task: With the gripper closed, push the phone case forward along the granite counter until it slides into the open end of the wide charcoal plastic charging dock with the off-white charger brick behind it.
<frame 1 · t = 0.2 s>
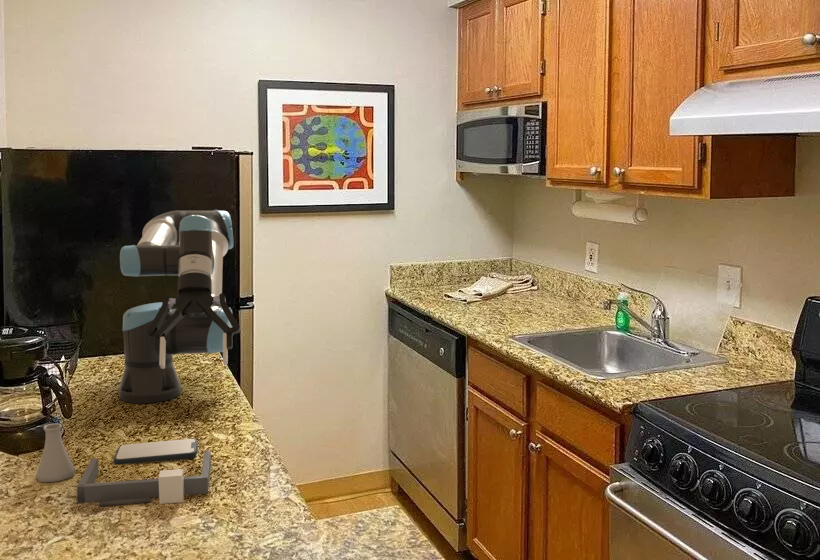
hand: (193, 364, 170), 15 cm above the countertop, tool tilted 35°, fingers open, 13 cm apart
dock: (148, 481, 145), on the countertop
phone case: (157, 456, 159), on the countertop
flask: (56, 476, 148), on the countertop
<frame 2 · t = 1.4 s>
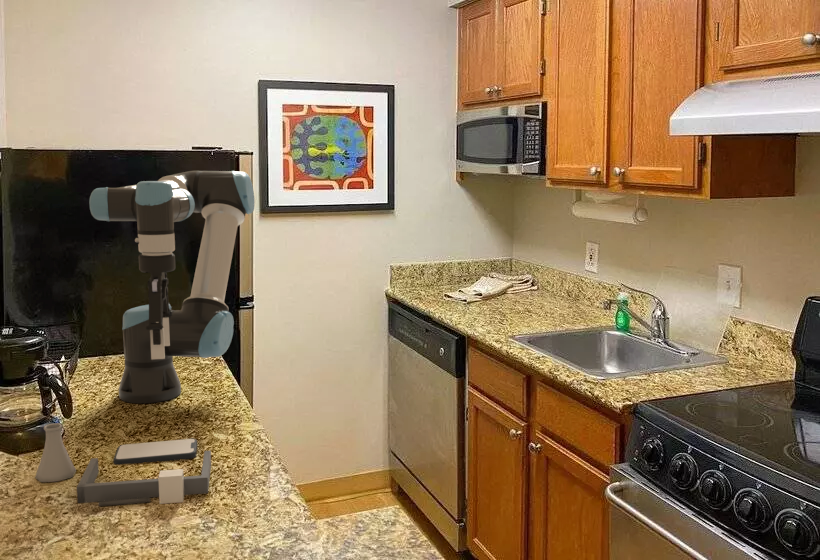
hand: (160, 352, 170), 18 cm above the countertop, tool pointing down, fingers open, 11 cm apart
nothing on the countertop moved.
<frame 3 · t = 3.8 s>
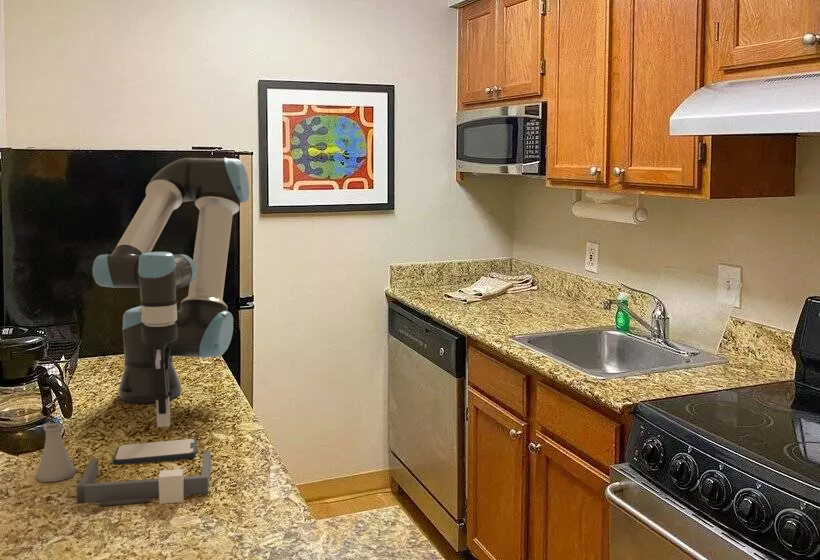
hand: (163, 425, 172), 1 cm above the countertop, tool pointing down, fingers closed
nothing on the countertop moved.
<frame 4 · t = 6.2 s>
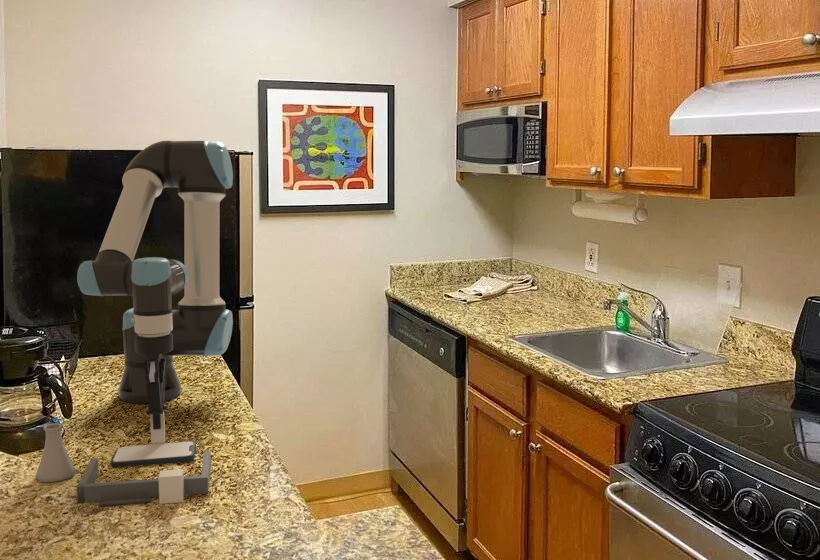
hand: (158, 441, 162), 1 cm above the countertop, tool pointing down, fingers closed
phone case: (154, 459, 158), on the countertop, touching gripper
everything else where it was.
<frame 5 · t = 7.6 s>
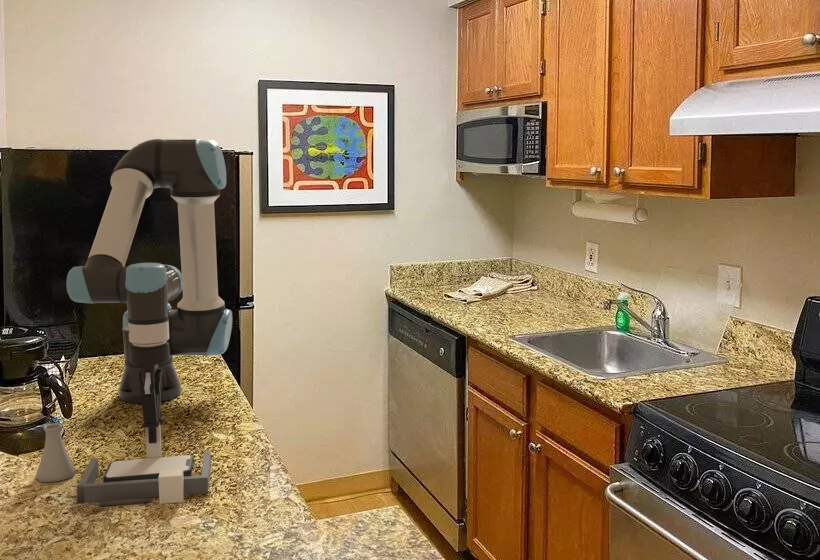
hand: (154, 456, 155), 1 cm above the countertop, tool pointing down, fingers closed
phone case: (150, 474, 150), on the countertop, touching gripper
everything else where it was.
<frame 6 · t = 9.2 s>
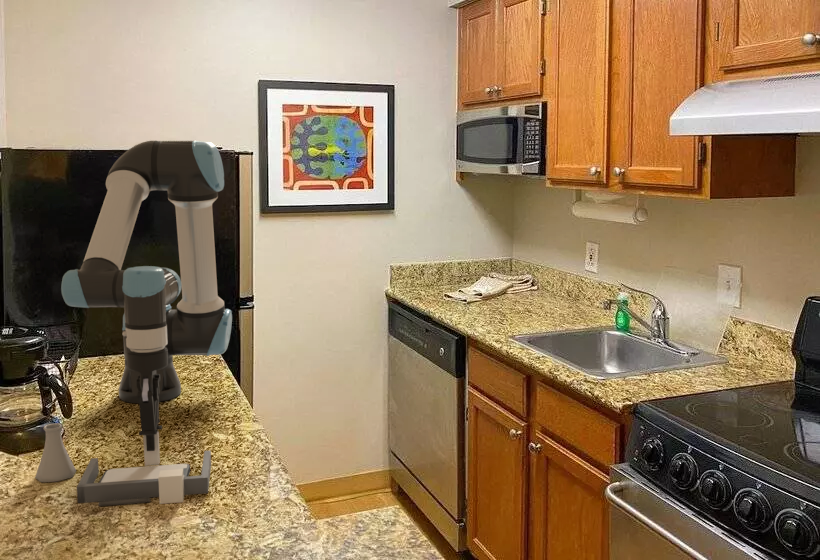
hand: (152, 463, 151), 1 cm above the countertop, tool pointing down, fingers closed
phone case: (145, 482, 146), on the countertop
everything else where it was.
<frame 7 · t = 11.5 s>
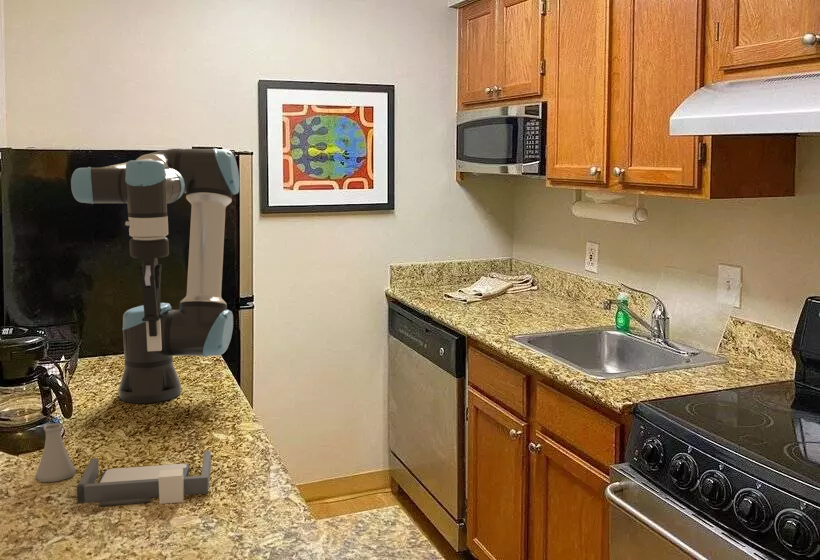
hand: (154, 350, 159), 21 cm above the countertop, tool pointing down, fingers closed
nothing on the countertop moved.
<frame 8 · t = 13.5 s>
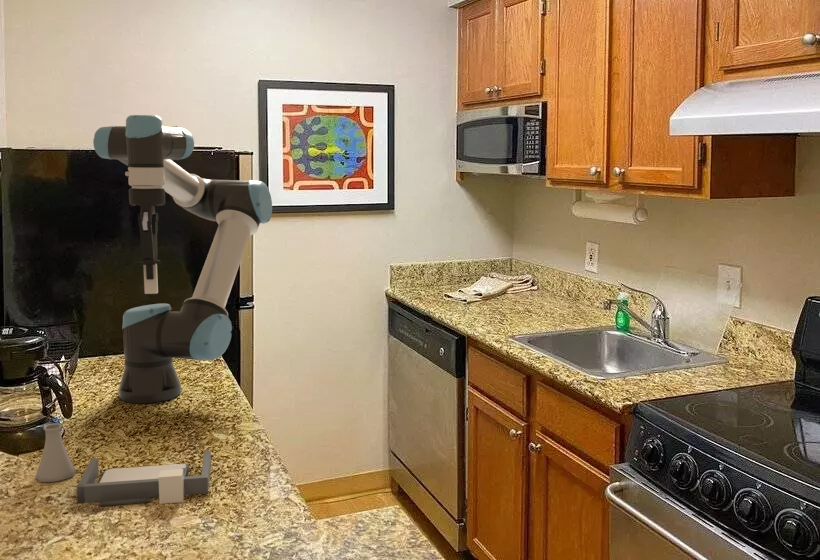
hand: (151, 293, 172), 30 cm above the countertop, tool pointing down, fingers closed
nothing on the countertop moved.
at the end: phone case inside the target area (1.0 cm from its centre), on the countertop; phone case moved 13.1 cm from its start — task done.
